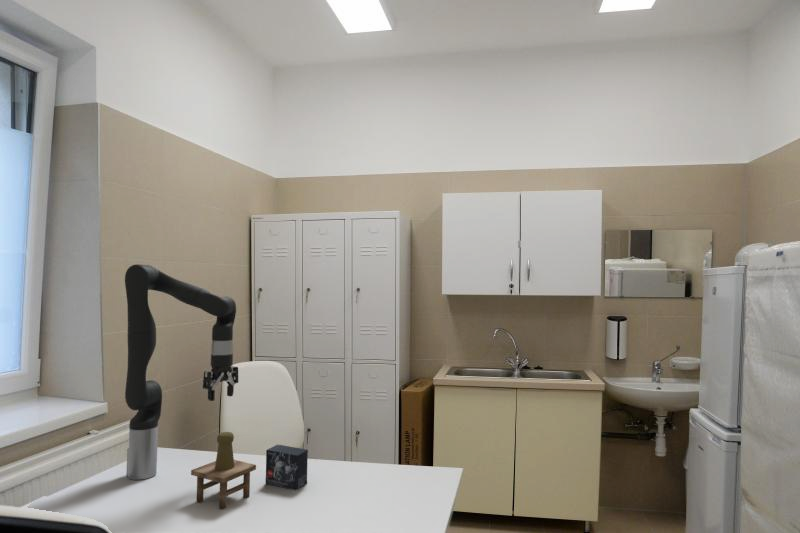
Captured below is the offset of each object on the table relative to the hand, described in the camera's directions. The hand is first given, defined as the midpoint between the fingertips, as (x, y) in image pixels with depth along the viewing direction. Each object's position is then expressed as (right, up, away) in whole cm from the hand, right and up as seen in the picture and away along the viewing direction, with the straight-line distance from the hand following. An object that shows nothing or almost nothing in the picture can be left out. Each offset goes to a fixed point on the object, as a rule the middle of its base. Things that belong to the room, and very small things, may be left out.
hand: (220, 398), depth 188 cm
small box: (+24, -29, -5) cm, 38 cm away
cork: (+7, -18, -18) cm, 26 cm away
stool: (+7, -28, -18) cm, 34 cm away
